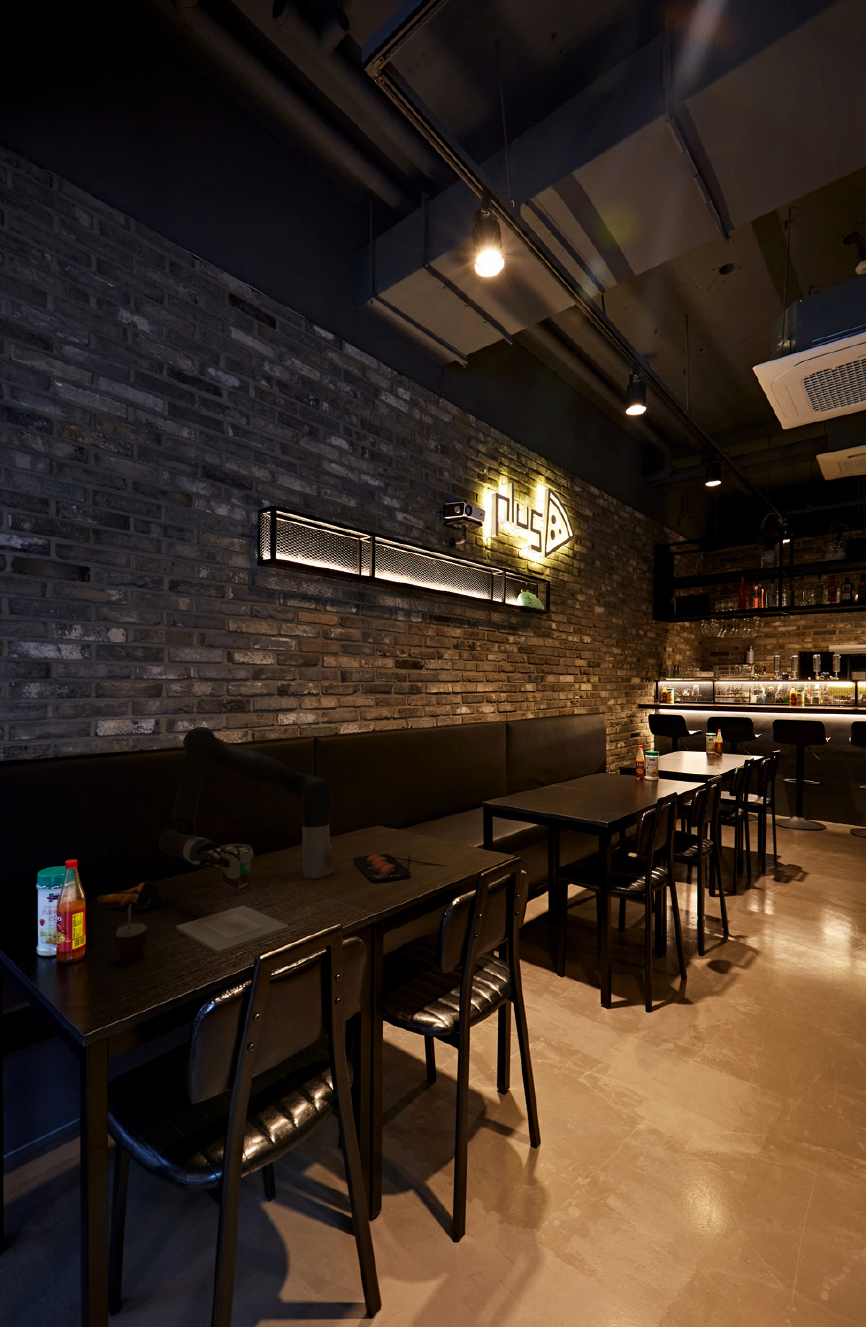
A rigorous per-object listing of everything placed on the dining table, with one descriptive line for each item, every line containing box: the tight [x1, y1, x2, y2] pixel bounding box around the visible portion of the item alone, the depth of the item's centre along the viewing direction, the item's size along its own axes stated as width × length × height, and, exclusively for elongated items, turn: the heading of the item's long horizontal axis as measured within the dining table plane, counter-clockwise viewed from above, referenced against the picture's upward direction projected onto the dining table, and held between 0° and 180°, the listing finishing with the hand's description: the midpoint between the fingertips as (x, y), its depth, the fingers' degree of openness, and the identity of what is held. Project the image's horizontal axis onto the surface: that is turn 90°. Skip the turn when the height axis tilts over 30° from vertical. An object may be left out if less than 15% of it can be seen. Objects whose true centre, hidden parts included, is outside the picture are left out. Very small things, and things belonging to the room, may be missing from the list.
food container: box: [219, 843, 254, 892], centre depth 166 cm, size 12×6×10 cm, turn 46°
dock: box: [175, 904, 290, 956], centre depth 164 cm, size 20×24×1 cm
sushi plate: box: [352, 853, 446, 882], centre depth 217 cm, size 29×30×4 cm
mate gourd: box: [114, 904, 148, 965], centre depth 148 cm, size 8×8×15 cm
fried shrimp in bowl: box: [96, 879, 163, 912], centre depth 182 cm, size 9×11×18 cm
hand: (230, 863), depth 165 cm, fingers closed on food container, 1 cm apart
